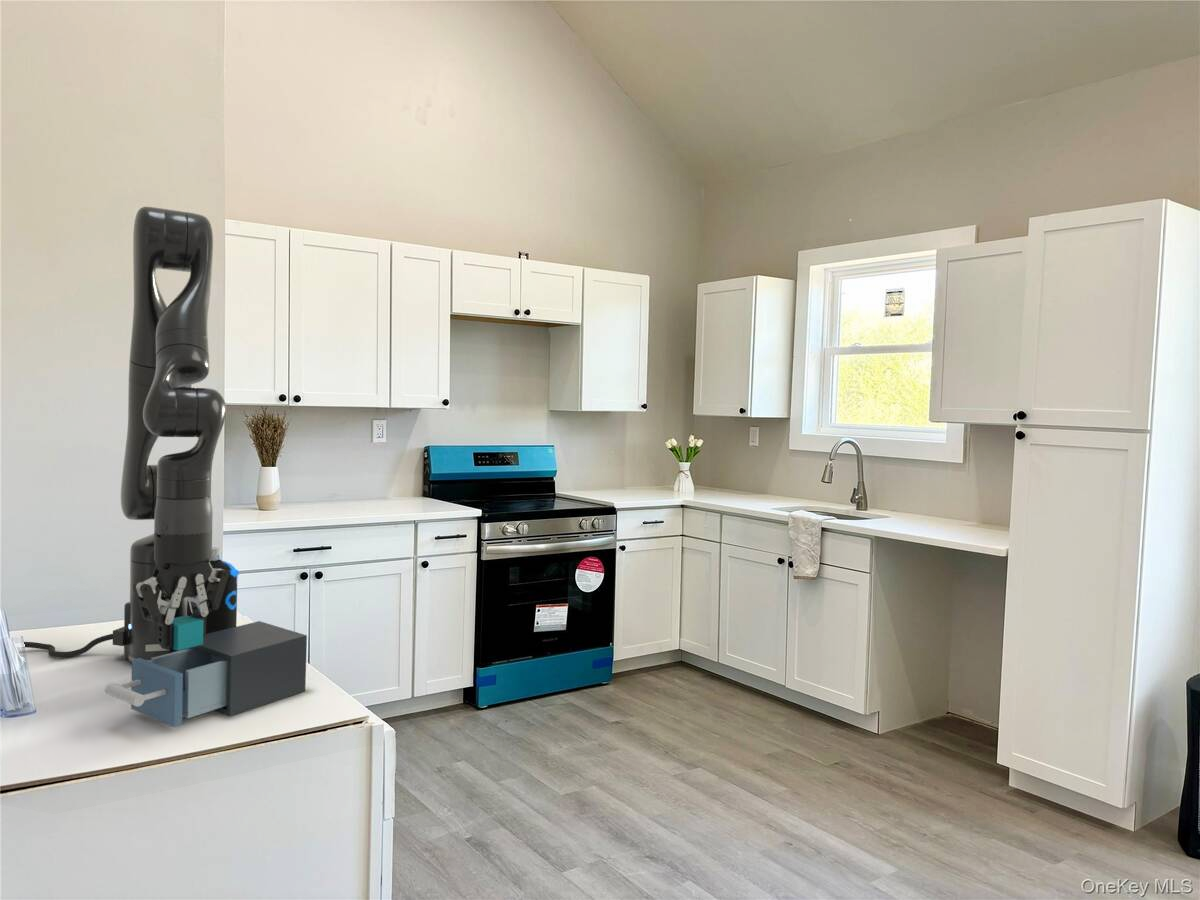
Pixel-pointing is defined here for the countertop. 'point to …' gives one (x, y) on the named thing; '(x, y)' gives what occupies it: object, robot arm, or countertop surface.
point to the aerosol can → (228, 605)
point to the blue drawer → (175, 685)
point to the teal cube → (187, 632)
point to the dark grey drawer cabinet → (258, 664)
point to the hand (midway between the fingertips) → (181, 644)
